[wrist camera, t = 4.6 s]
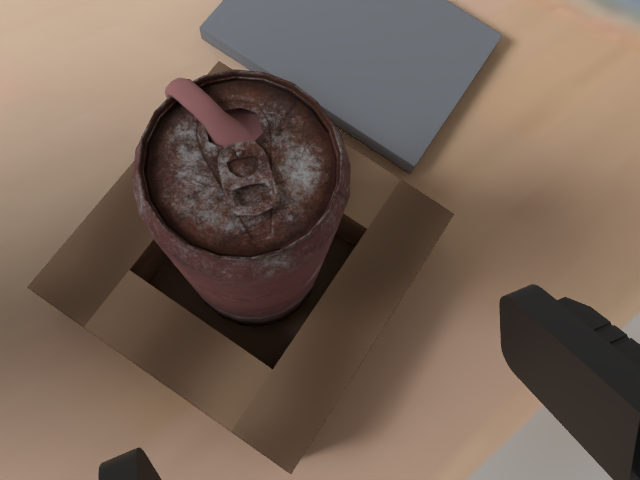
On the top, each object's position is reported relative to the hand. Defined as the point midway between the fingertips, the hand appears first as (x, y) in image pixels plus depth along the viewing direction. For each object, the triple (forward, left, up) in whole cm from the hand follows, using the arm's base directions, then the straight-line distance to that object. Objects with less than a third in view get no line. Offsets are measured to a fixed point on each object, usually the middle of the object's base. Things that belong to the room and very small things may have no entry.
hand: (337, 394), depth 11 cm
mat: (-8, +18, -16) cm, 25 cm away
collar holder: (-5, +4, -16) cm, 17 cm away
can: (-5, +4, -16) cm, 17 cm away
